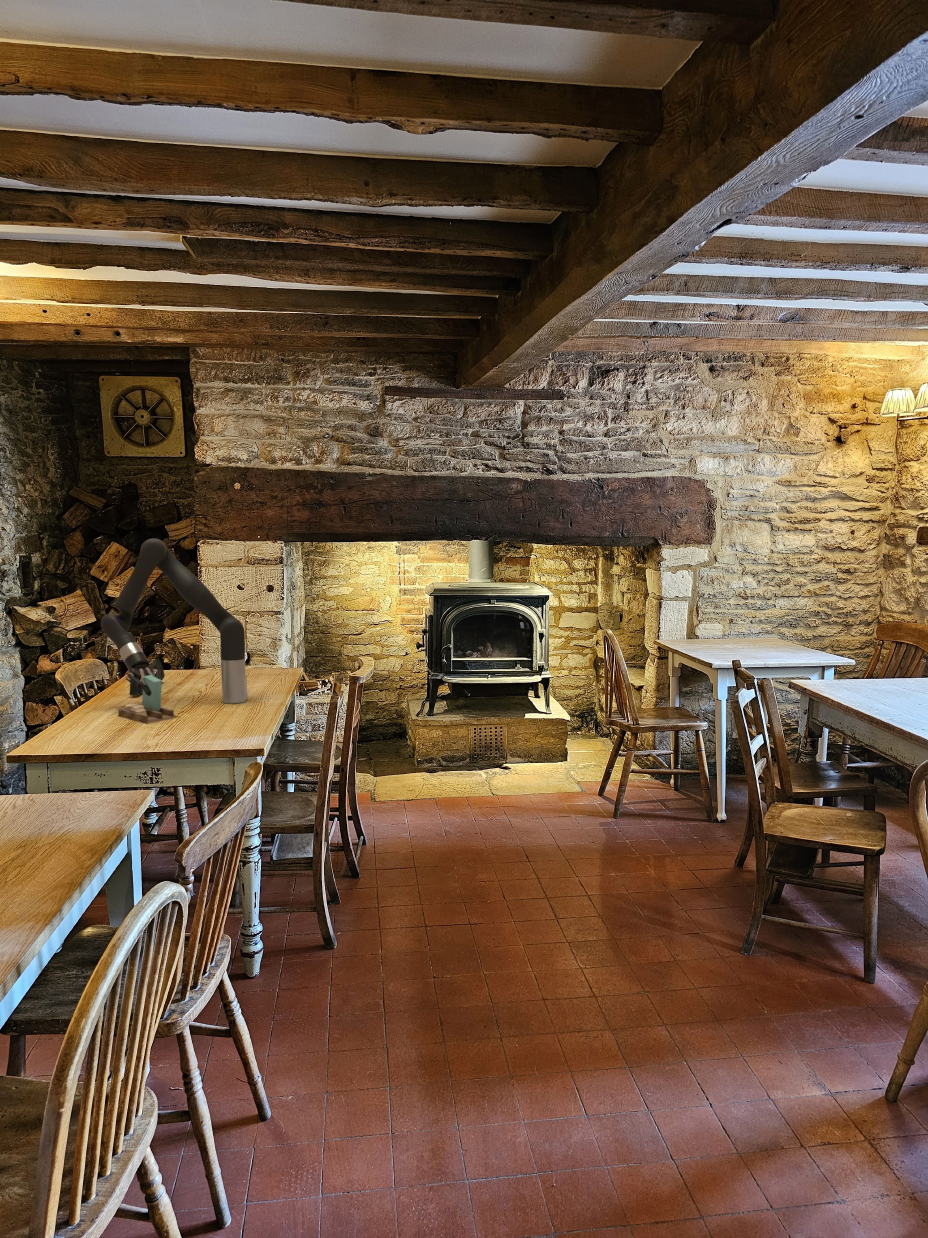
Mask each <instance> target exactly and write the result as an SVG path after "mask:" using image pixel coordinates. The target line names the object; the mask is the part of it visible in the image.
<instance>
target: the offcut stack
mask: <svg viewBox="0 0 928 1238" xmlns="http://www.w3.org/2000/svg"><path fill="white" fill-rule="evenodd" d="M125 710H126V711H130V712H133V713H137V714H141V715H144V716H147V714H146V710H144V706H142V704H138V703H130V704H125Z"/></svg>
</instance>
